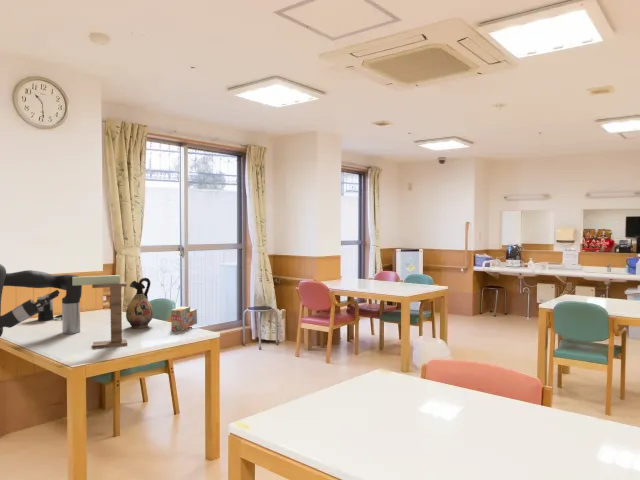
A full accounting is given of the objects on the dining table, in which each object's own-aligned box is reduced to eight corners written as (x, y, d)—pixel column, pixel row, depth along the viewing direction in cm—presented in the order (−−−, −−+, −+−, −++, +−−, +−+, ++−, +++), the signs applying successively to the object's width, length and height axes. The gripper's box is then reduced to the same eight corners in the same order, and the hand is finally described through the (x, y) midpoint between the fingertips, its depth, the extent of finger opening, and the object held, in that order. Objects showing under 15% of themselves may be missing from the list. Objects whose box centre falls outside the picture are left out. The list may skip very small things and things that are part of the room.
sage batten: (72, 284, 250) (72, 276, 250) (119, 282, 259) (119, 275, 259) (72, 285, 247) (72, 277, 247) (120, 283, 257) (119, 275, 256)
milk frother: (34, 320, 323) (34, 297, 323) (59, 316, 336) (58, 294, 336) (45, 322, 315) (45, 299, 315) (70, 318, 328) (69, 296, 328)
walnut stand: (93, 344, 258) (92, 283, 257) (126, 341, 264) (125, 281, 263) (93, 348, 249) (92, 285, 248) (127, 345, 256) (126, 283, 255)
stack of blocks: (188, 323, 314) (187, 303, 313) (197, 323, 312) (197, 304, 312) (171, 330, 293) (171, 309, 292) (180, 330, 292) (180, 310, 291)
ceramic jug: (131, 330, 291) (131, 279, 290) (122, 326, 303) (121, 277, 302) (159, 326, 302) (159, 277, 301) (149, 323, 314) (149, 275, 313)
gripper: (19, 306, 233) (52, 287, 239) (22, 302, 246) (54, 284, 252) (28, 319, 235) (62, 300, 241) (31, 314, 248) (63, 296, 253)
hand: (58, 292), depth 246 cm, fingers open, 8 cm apart
